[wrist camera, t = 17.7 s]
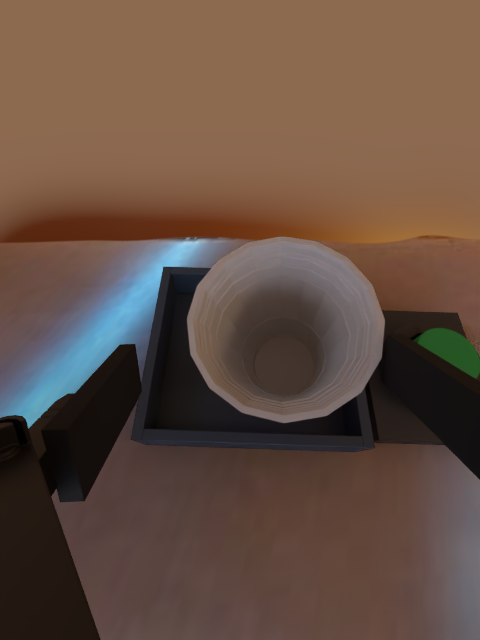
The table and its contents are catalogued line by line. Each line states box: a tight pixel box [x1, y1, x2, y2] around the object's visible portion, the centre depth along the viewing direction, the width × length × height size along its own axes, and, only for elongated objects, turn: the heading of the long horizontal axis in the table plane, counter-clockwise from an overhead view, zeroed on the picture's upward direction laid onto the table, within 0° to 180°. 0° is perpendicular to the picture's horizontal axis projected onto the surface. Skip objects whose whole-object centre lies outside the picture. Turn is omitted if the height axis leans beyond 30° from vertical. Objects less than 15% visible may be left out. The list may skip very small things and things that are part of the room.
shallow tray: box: [131, 267, 375, 452], centre depth 27 cm, size 18×16×4 cm
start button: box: [413, 328, 480, 378], centre depth 24 cm, size 5×5×2 cm
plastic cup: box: [187, 236, 385, 423], centre depth 21 cm, size 11×11×12 cm
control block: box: [365, 311, 480, 445], centre depth 26 cm, size 10×12×4 cm
